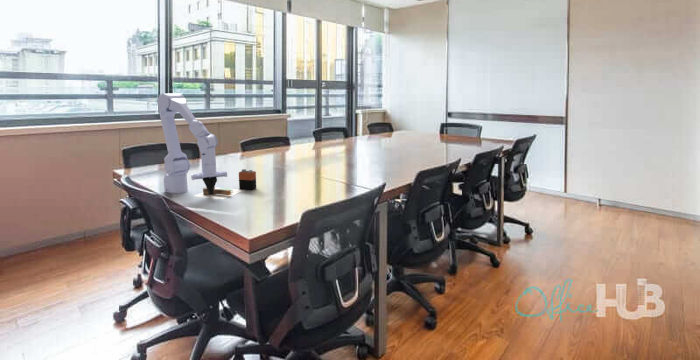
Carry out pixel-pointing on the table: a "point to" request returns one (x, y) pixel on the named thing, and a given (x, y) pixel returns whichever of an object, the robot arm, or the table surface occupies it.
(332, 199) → the table surface
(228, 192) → the dial
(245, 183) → the battery
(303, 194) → the table surface
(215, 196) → the board
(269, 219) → the table surface
